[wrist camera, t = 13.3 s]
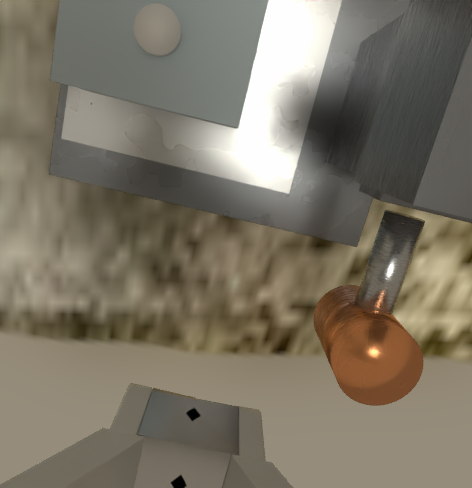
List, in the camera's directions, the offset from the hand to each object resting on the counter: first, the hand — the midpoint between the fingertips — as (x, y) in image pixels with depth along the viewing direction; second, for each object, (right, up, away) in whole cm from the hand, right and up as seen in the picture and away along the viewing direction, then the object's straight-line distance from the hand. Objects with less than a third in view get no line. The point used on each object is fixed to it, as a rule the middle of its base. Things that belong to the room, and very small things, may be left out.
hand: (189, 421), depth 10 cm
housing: (-2, +13, +11) cm, 17 cm away
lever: (+6, +2, +8) cm, 11 cm away
